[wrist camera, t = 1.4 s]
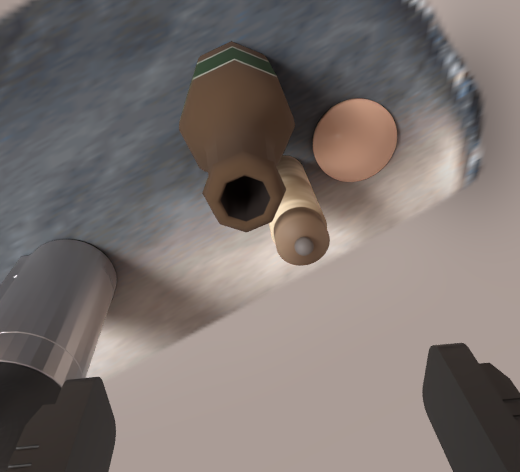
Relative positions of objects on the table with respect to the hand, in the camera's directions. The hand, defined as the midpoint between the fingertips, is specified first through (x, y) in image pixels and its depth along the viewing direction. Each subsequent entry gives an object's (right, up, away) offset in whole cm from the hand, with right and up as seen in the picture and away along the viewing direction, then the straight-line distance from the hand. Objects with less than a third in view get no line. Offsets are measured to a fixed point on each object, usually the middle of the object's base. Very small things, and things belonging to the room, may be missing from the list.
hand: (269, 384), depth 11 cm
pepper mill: (+2, +10, +34) cm, 36 cm away
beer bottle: (-3, +17, +30) cm, 34 cm away
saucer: (+9, +13, +33) cm, 36 cm away
